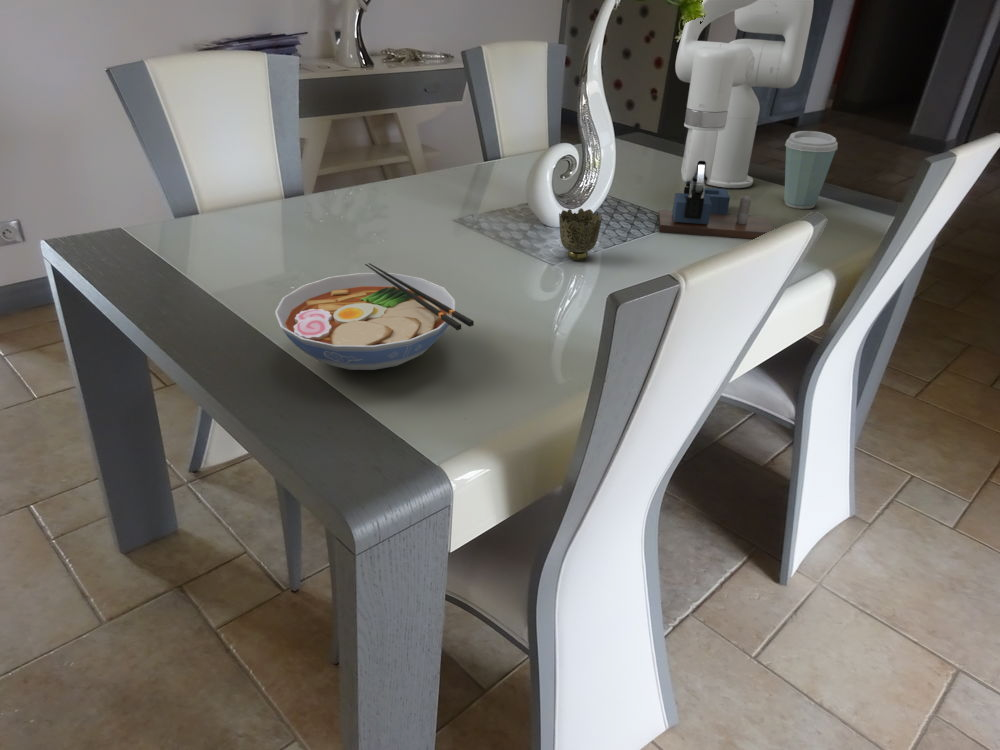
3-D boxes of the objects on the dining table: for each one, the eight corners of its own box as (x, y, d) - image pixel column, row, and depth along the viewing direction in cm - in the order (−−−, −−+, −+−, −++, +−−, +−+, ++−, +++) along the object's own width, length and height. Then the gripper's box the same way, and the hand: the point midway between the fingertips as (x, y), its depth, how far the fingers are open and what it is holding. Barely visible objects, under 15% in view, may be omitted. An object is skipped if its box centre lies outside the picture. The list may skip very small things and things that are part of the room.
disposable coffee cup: (828, 213, 159) (846, 142, 152) (776, 210, 161) (791, 139, 153) (818, 200, 168) (834, 131, 161) (769, 196, 170) (783, 128, 162)
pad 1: (672, 212, 152) (675, 192, 150) (705, 214, 151) (708, 195, 149) (674, 222, 146) (676, 201, 144) (708, 224, 145) (711, 204, 143)
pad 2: (692, 205, 162) (695, 186, 160) (723, 207, 162) (726, 189, 160) (694, 214, 157) (697, 195, 155) (726, 216, 156) (730, 197, 154)
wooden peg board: (658, 216, 155) (662, 183, 151) (767, 224, 152) (774, 190, 148) (659, 232, 146) (664, 197, 142) (775, 240, 143) (783, 205, 140)
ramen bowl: (253, 341, 101) (244, 285, 97) (401, 304, 113) (399, 253, 109) (329, 426, 84) (322, 362, 80) (495, 372, 96) (496, 314, 92)
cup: (561, 266, 129) (564, 221, 125) (552, 251, 135) (554, 208, 131) (603, 265, 130) (607, 220, 126) (592, 250, 136) (595, 207, 132)
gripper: (682, 110, 147) (670, 199, 156) (688, 126, 132) (674, 224, 141) (721, 112, 146) (706, 201, 155) (731, 129, 131) (714, 227, 140)
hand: (691, 211), depth 148 cm, fingers closed on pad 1, 6 cm apart
